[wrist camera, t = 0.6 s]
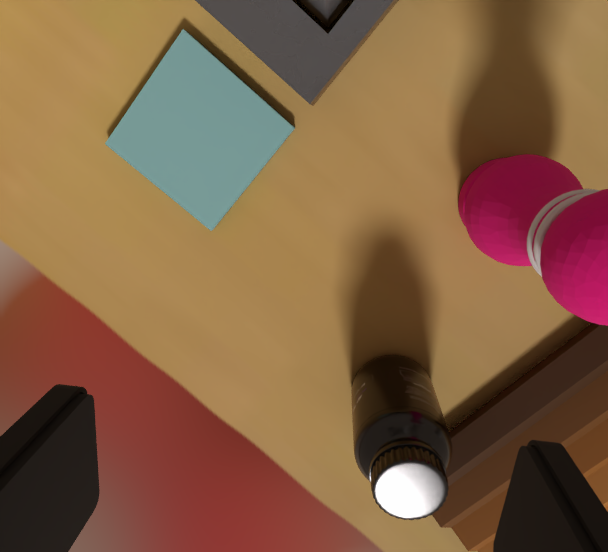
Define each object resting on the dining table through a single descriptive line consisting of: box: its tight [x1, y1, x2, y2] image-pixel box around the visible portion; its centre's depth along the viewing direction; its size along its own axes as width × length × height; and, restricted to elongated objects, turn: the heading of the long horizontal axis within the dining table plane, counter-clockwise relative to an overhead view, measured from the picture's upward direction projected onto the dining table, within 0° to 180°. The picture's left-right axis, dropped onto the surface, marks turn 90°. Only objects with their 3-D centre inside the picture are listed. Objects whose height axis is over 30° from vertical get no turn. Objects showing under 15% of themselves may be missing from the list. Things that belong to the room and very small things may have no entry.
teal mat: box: [105, 29, 295, 231], centre depth 36 cm, size 10×10×1 cm
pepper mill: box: [458, 154, 608, 326], centre depth 27 cm, size 7×7×20 cm
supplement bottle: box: [352, 355, 452, 520], centre depth 36 cm, size 7×7×12 cm
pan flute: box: [432, 323, 608, 552], centre depth 42 cm, size 25×3×25 cm
